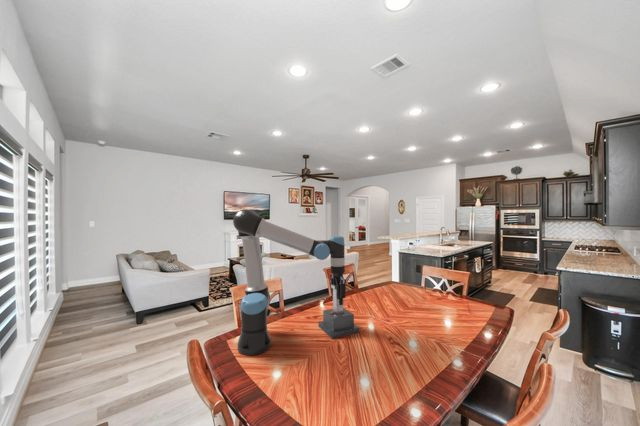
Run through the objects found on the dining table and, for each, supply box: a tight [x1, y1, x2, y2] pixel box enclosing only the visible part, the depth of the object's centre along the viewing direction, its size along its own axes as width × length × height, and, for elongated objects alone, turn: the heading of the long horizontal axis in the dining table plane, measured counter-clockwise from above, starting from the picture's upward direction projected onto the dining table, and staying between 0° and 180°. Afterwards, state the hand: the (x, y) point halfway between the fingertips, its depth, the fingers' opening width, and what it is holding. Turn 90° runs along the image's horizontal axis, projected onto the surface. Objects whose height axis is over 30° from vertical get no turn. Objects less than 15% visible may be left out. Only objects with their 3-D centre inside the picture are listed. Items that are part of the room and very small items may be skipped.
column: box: [330, 283, 343, 315], centre depth 141 cm, size 6×4×24 cm
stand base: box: [318, 307, 360, 340], centre depth 141 cm, size 16×16×10 cm
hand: (338, 309), depth 141 cm, fingers closed on column, 4 cm apart
